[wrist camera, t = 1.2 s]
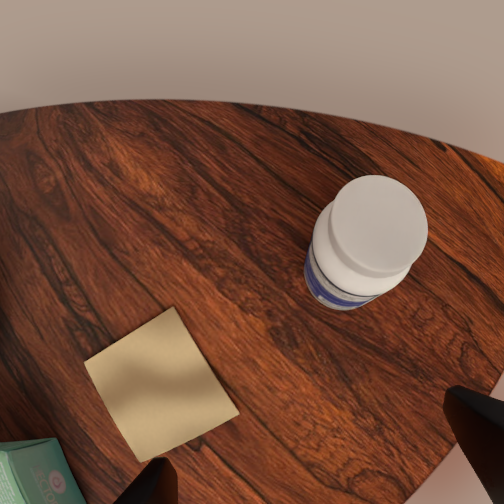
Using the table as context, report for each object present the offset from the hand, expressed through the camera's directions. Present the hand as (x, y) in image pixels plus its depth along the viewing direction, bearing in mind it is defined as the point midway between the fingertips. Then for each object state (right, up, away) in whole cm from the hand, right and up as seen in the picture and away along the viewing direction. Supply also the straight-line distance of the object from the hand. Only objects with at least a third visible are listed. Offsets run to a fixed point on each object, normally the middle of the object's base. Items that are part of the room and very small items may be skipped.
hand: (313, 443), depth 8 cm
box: (-23, -16, +11) cm, 30 cm away
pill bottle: (+5, +4, +15) cm, 16 cm away
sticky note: (-9, -4, +13) cm, 16 cm away
